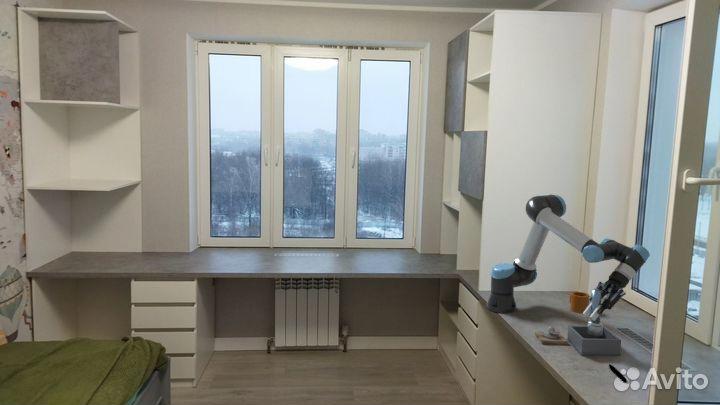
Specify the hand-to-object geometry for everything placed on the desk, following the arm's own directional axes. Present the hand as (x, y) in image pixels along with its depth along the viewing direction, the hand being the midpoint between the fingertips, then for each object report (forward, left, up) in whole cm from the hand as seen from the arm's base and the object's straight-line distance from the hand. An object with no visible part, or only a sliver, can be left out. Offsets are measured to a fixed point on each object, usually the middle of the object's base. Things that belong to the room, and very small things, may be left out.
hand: (588, 317), depth 221 cm
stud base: (-11, -12, -14) cm, 21 cm away
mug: (-53, +16, -15) cm, 57 cm away
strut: (-1, +4, -8) cm, 9 cm away
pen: (+24, +2, -15) cm, 28 cm away
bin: (-2, +3, -14) cm, 15 cm away
